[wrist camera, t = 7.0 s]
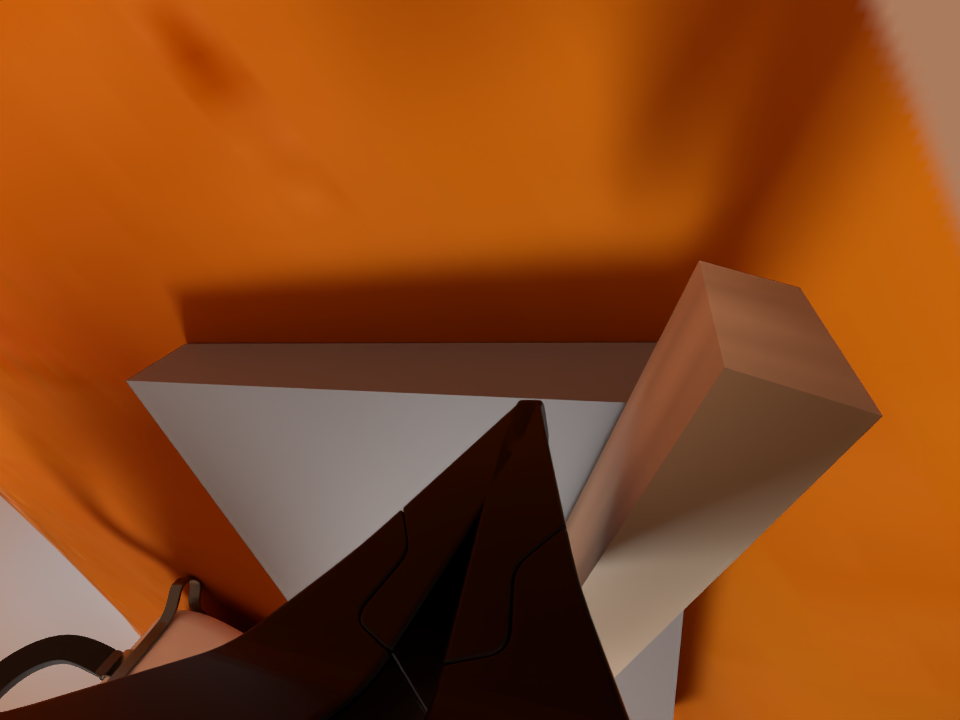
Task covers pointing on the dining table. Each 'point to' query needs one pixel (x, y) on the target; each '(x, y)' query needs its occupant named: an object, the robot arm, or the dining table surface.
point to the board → (383, 442)
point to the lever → (709, 450)
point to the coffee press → (156, 647)
